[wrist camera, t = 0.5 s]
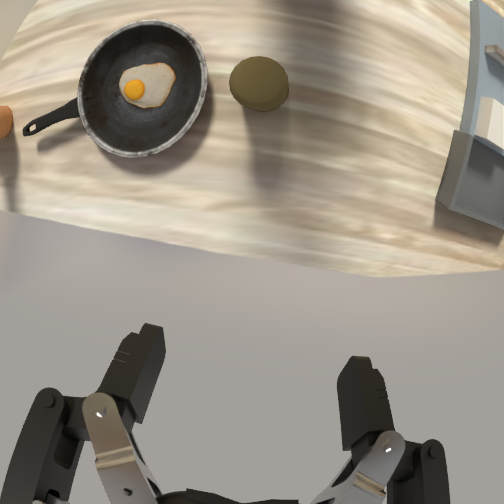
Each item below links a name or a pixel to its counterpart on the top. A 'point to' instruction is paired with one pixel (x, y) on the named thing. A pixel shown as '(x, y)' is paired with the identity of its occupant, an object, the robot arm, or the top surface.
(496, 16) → the board
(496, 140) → the tile
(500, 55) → the scraper
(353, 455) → the robot arm
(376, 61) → the top surface
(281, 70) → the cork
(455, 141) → the tray
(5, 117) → the potted plant
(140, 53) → the frying pan
